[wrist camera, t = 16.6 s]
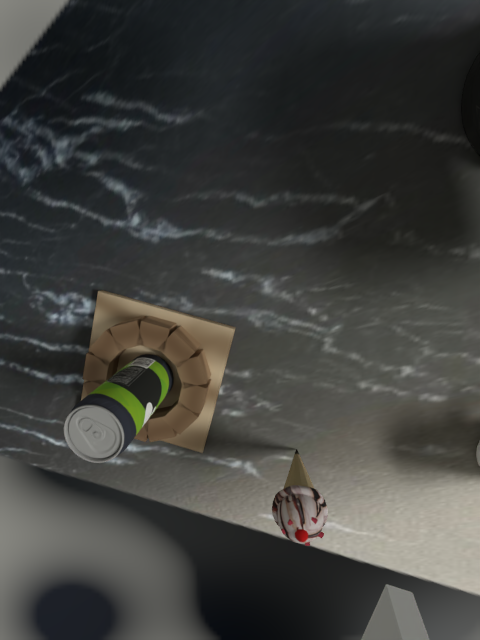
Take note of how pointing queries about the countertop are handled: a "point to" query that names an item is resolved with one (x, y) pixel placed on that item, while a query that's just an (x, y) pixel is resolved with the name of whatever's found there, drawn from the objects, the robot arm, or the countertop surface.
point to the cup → (478, 453)
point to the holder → (175, 348)
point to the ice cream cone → (299, 506)
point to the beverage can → (118, 409)
